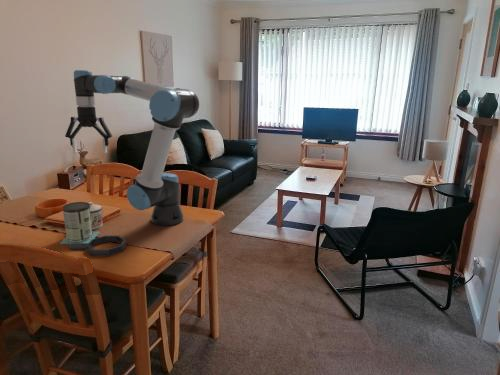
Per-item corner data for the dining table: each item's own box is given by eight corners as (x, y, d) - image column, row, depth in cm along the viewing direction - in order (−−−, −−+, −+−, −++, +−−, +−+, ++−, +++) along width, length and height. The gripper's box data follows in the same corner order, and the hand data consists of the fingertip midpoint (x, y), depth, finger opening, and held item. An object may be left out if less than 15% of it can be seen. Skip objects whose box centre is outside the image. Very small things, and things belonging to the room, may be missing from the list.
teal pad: (100, 232, 158) (99, 231, 158) (90, 244, 146) (90, 243, 146) (71, 232, 157) (71, 231, 157) (59, 244, 145) (59, 243, 145)
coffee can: (72, 232, 156) (68, 201, 152) (96, 232, 157) (93, 201, 153) (61, 242, 146) (57, 209, 142) (87, 242, 147) (84, 209, 143)
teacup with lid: (95, 231, 159) (92, 206, 155) (77, 229, 160) (74, 204, 157) (111, 222, 170) (109, 198, 167) (94, 220, 172) (91, 196, 168)
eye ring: (128, 241, 150) (128, 235, 149) (119, 255, 137) (119, 250, 136) (77, 241, 149) (77, 235, 148) (63, 256, 136) (62, 250, 135)
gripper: (116, 106, 166) (120, 151, 172) (61, 105, 164) (66, 150, 170) (111, 107, 159) (115, 154, 165) (53, 106, 157) (59, 153, 163)
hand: (90, 152), depth 168 cm, fingers open, 13 cm apart
